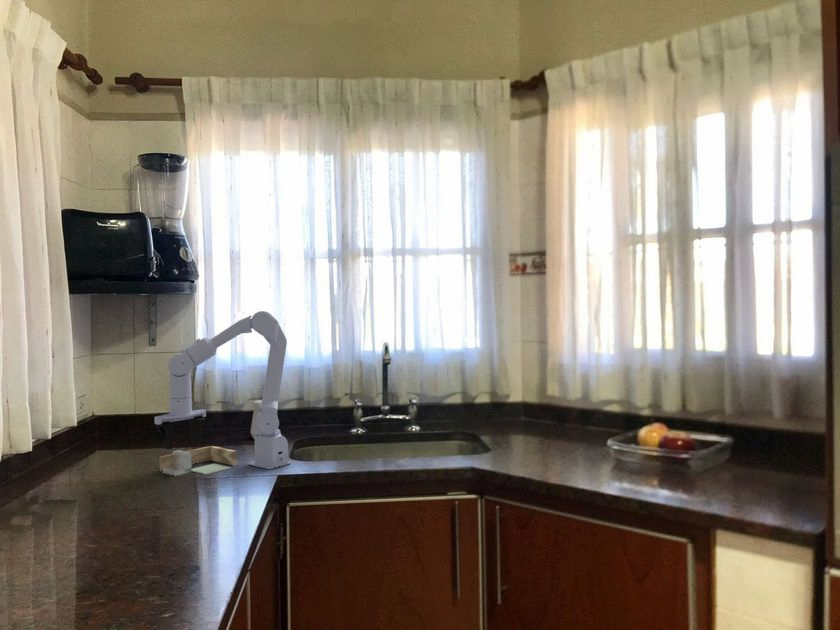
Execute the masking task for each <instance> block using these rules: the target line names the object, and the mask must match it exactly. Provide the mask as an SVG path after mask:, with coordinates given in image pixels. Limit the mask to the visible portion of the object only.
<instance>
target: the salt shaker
mask: <svg viewBox="0 0 840 630" xmlns="http://www.w3.org/2000/svg"><path fill="white" fill-rule="evenodd" d="M261 403H262V399H260V400H259V399H258V400H254V401H252V404H251V405H252V408H253V412H252V419H251V427H250V435H251V436H252V438H253V440H255V434H254V432H256V431H257V430H258V429H257V427H256V415H257V413H258V412H259V410H260V408H261Z"/></svg>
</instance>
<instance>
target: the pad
mask: <svg viewBox="0 0 840 630" xmlns="http://www.w3.org/2000/svg"><path fill="white" fill-rule="evenodd" d="M230 469H232V467H230V466H225V465H222V464H217V463H211V464H206V465H201V466H198V467H194V468H192V472H193V473H198V474H201V473H202V474H201V475H205V476H207V475H210V474H215V473H218V472H222V471H223V472H224V471H226V470H230Z"/></svg>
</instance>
